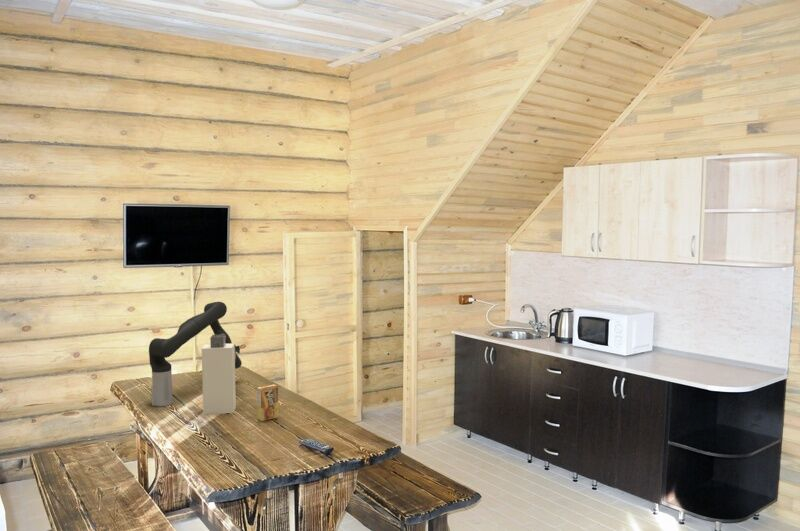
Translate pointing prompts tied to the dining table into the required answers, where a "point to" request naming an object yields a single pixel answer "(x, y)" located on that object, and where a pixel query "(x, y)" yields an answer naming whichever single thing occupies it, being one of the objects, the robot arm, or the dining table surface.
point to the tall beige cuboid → (218, 379)
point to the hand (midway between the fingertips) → (224, 345)
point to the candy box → (267, 402)
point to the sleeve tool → (218, 341)
